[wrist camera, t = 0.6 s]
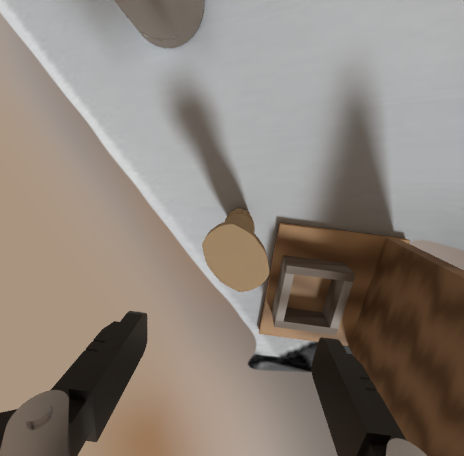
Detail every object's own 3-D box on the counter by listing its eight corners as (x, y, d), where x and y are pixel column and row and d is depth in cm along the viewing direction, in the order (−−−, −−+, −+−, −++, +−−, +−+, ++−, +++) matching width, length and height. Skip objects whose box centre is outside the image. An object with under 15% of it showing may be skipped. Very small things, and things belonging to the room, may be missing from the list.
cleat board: (279, 222, 32) (335, 317, 12) (405, 238, 32) (673, 362, 12) (258, 329, 38) (275, 511, 18) (365, 344, 38) (501, 546, 18)
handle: (239, 242, 34) (234, 299, 19) (214, 209, 32) (191, 245, 18) (264, 225, 33) (280, 273, 18) (240, 190, 31) (237, 213, 17)
